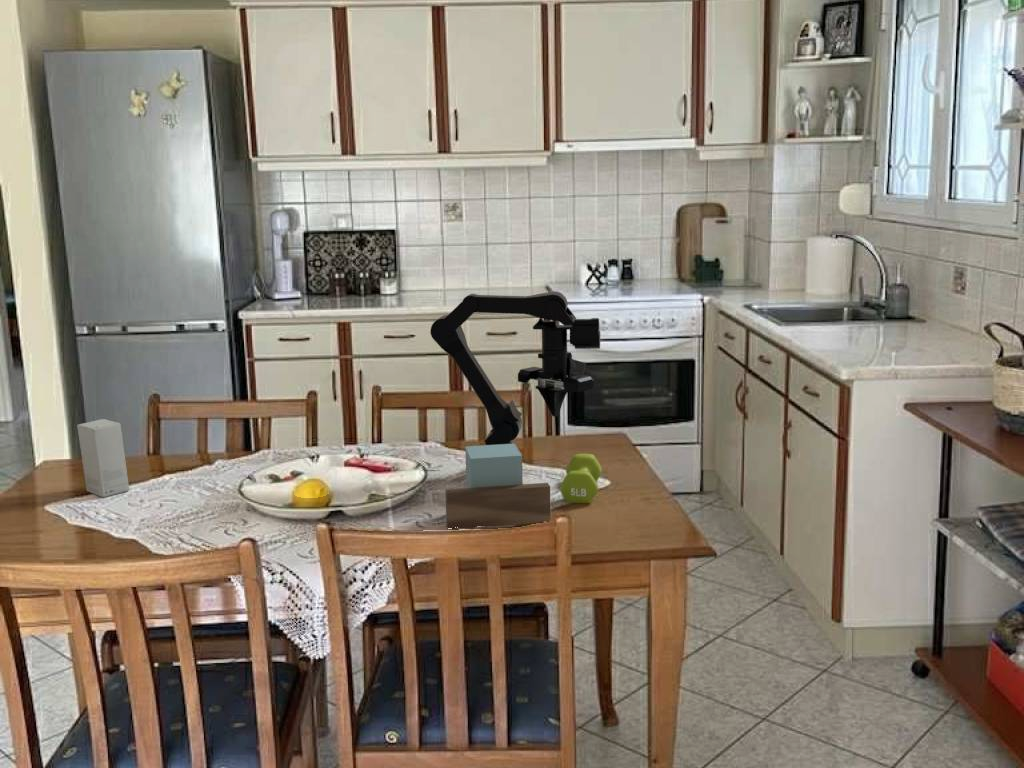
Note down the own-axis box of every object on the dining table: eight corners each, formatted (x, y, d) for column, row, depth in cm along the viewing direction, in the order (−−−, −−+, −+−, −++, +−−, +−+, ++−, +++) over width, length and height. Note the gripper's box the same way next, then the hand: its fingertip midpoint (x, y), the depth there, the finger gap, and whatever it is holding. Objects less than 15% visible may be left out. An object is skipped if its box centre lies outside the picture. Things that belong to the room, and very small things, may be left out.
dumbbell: (597, 508, 202) (597, 474, 201) (558, 507, 204) (558, 473, 202) (603, 484, 218) (603, 452, 217) (567, 483, 220) (566, 451, 218)
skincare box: (129, 491, 219) (122, 423, 216) (100, 498, 214) (93, 429, 211) (112, 484, 225) (105, 417, 221) (83, 491, 220) (75, 423, 217)
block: (467, 508, 201) (465, 446, 198) (515, 504, 203) (514, 443, 200) (472, 523, 192) (470, 458, 190) (523, 519, 194) (522, 455, 191)
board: (446, 529, 192) (445, 489, 190) (548, 521, 195) (547, 482, 193) (447, 533, 189) (446, 493, 188) (550, 525, 192) (550, 486, 191)
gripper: (609, 348, 221) (609, 416, 224) (549, 339, 234) (550, 404, 237) (576, 355, 213) (576, 425, 217) (515, 346, 227) (516, 412, 230)
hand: (555, 416), depth 225 cm, fingers closed
